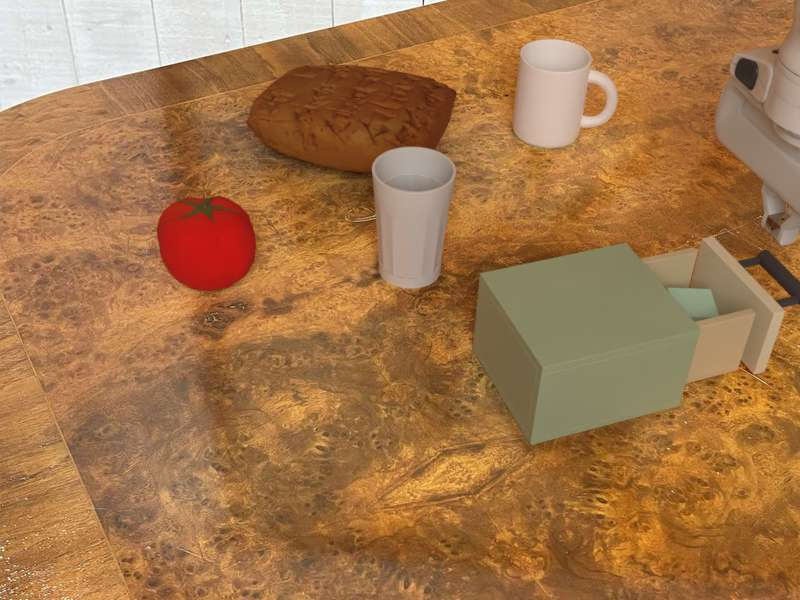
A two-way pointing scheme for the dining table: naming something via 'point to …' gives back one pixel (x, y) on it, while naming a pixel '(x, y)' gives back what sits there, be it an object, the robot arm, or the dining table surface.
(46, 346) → the dining table surface
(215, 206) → the tomato
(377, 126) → the brown bread loaf
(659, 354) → the cabinet
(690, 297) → the block
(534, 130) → the mug
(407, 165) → the cup
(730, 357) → the drawer
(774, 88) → the robot arm
